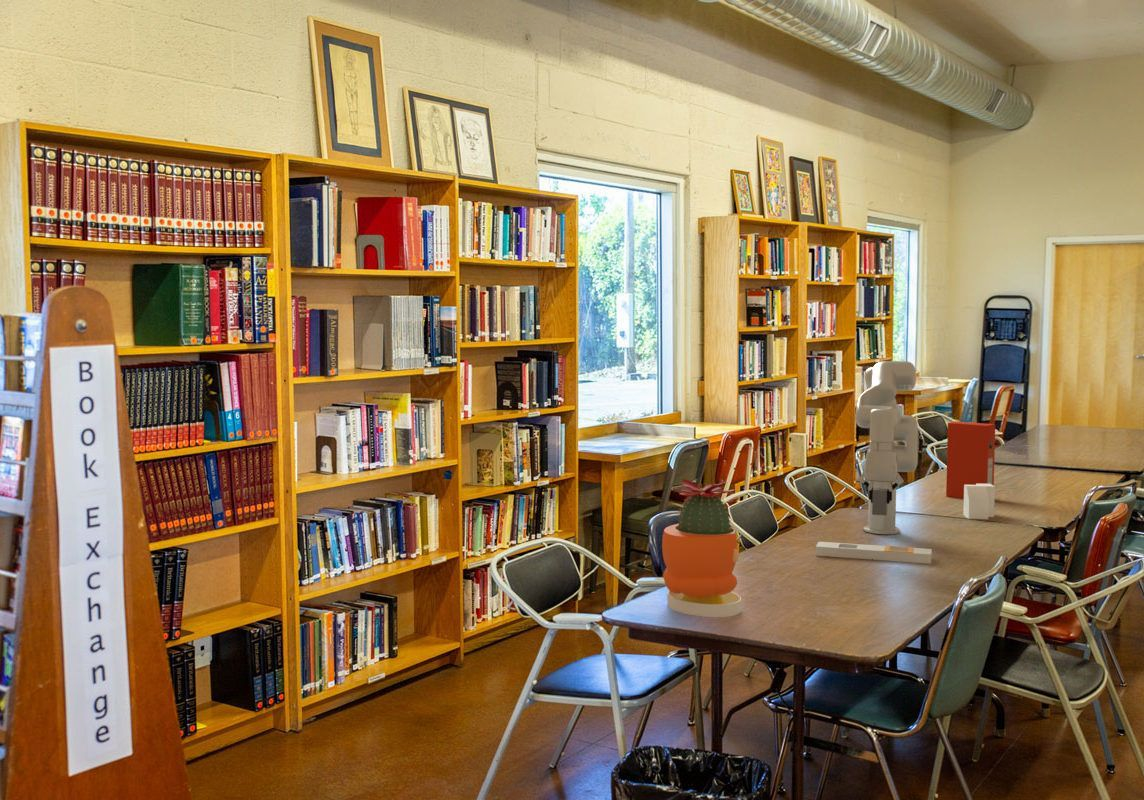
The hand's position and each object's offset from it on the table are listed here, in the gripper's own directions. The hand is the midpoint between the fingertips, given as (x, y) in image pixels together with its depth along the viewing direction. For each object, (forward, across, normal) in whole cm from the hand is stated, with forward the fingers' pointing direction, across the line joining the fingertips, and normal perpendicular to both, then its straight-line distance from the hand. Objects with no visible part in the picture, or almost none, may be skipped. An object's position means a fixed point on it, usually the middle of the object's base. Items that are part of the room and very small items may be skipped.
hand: (880, 501), depth 353 cm
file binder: (+19, -25, -128) cm, 132 cm away
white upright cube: (+19, -30, -86) cm, 93 cm away
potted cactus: (+18, +40, +80) cm, 91 cm away
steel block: (+4, 0, 0) cm, 4 cm away
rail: (+18, +2, 0) cm, 18 cm away
